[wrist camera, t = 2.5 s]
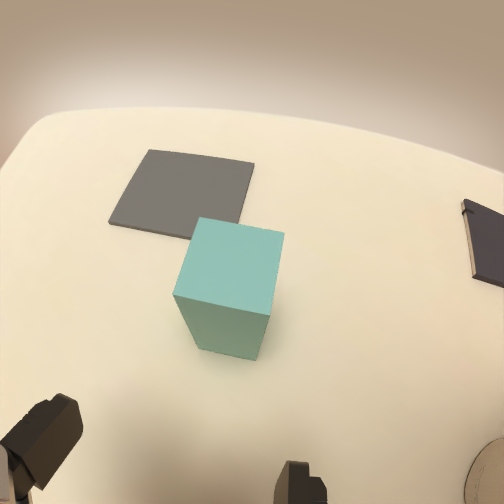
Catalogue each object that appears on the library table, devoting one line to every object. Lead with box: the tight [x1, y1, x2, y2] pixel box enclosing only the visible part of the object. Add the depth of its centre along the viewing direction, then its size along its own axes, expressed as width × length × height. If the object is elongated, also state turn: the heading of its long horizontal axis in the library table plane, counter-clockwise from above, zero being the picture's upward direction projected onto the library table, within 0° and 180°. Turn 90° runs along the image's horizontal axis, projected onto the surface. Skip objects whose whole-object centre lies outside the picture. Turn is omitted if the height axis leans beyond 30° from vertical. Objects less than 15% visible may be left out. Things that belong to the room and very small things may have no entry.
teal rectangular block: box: [173, 217, 284, 361], centre depth 22 cm, size 5×5×12 cm
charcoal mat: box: [108, 149, 254, 240], centre depth 34 cm, size 14×12×1 cm
